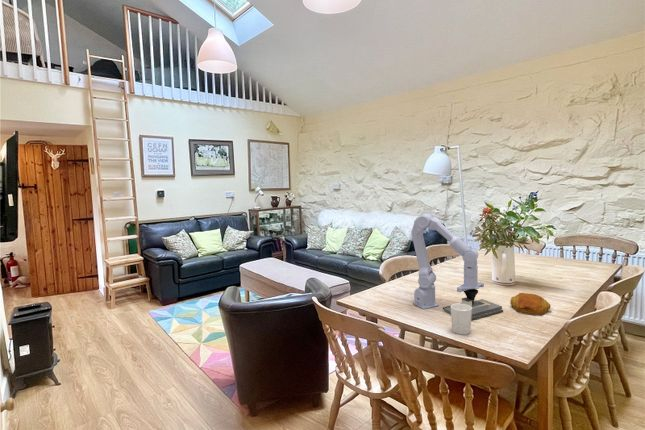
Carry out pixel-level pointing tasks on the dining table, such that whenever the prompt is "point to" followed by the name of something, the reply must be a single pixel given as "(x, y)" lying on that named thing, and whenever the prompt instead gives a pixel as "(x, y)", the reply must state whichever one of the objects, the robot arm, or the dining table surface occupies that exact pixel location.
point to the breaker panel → (480, 308)
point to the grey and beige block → (467, 301)
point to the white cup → (461, 318)
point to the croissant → (530, 304)
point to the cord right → (486, 315)
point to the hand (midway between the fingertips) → (470, 304)
